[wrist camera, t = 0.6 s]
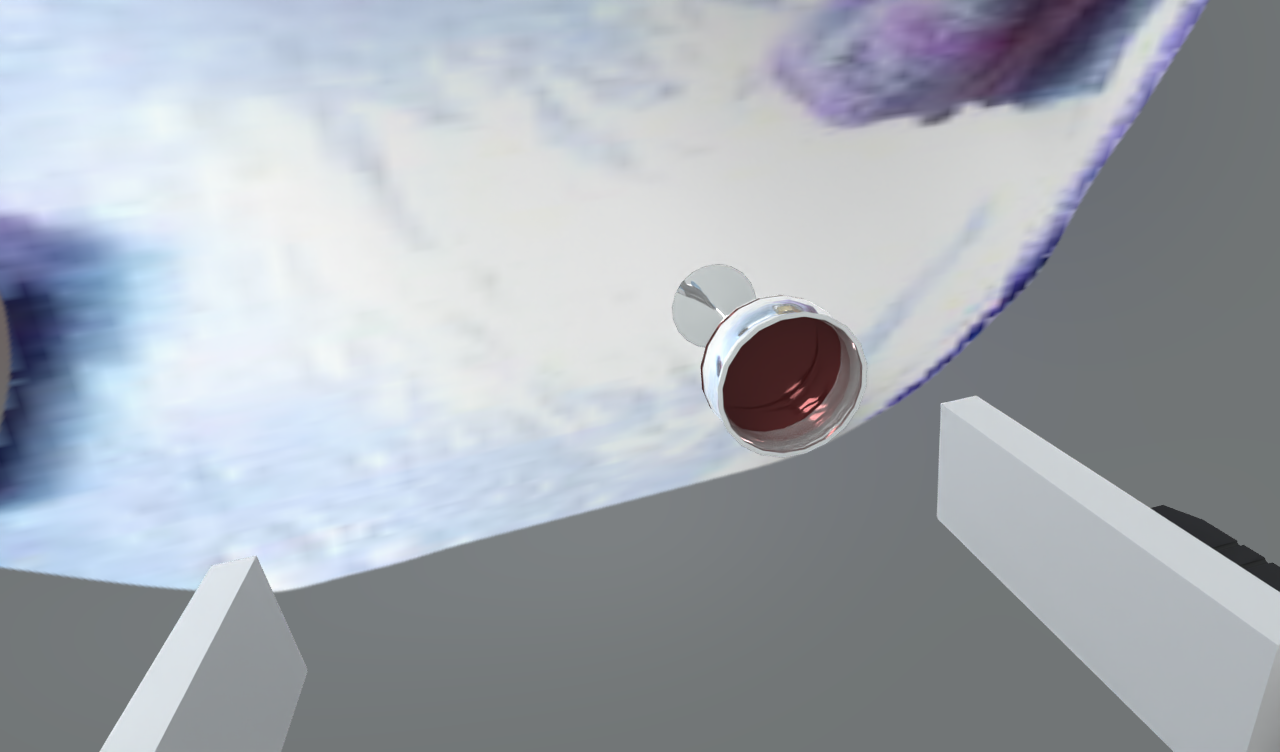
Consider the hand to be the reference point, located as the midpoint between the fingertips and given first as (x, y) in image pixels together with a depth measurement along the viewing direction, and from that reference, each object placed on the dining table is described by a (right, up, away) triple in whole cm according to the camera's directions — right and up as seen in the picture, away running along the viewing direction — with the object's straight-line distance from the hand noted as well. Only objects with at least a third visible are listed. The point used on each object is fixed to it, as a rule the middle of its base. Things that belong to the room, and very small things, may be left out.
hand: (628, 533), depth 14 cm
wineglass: (+5, +7, +27) cm, 28 cm away
